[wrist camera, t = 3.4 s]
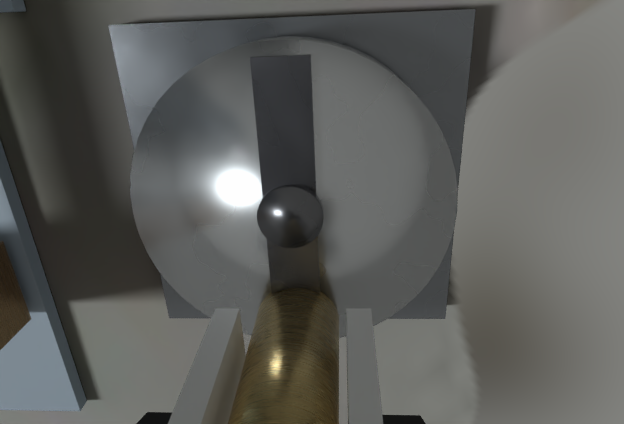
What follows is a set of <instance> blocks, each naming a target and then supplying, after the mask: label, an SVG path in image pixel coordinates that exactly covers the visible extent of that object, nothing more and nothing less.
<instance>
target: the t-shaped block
mask: <svg viewBox="0 0 624 424" xmlns="http://www.w3.org/2000/svg"><path fill="white" fill-rule="evenodd" d="M25 11H26V8H25V5H24V1H23V0H0V13H4V12H25ZM0 241H3V242H4V245H5V247H6V250H7V253H8V256H9V258H10V261H11V264H12V267H13V269H14V272H15V275H16V278H17V280H18V283H19V286H20V289H21V292H22V294H23V297H24V300H25V303H26V305H27V308H28V311H29V314H30V316H31V320H30V321H29V322H28V323H27V324H26V325H25V326H24V327H23V328H22V329H21V330H20V331H19V332H18V333H17V334H16V335H15V336H14V337H13V338H12V339H11V340H10V341H9V342H8V343H7V344H6V345H5V346H4V347H3V348H2V349H1V350H0V410H42V411H81V409H82V408H83V406H84V405H85V403H86V401H87V400H86V397H85V394H84V391H83V388H82V385H81V382H80V379H79V376H78V373H77V370H76V367H75V364H74V361H73V358H72V355H71V352H70V349H69V346H68V343H67V340H66V337H65V334H64V331H63V328H62V325H61V321H60V318H59V315H58V312H57V309H56V306H55V303H54V300H53V297H52V294H51V291H50V288H49V285H48V282H47V279H46V276H45V273H44V270H43V267H42V264H41V261H40V258H39V255H38V252H37V249H36V246H35V243H34V240H33V237H32V234H31V231H30V228H29V225H28V222H27V219H26V216H25V213H24V210H23V207H22V204H21V201H20V198H19V194H18V191H17V188H16V185H15V182H14V179H13V176H12V173H11V170H10V167H9V164H8V161H7V158H6V155H5V152H4V149H3V146H2V143H1V140H0Z"/></svg>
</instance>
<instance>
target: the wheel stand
mask: <svg viewBox="0 0 624 424" xmlns="http://www.w3.org/2000/svg"><path fill="white" fill-rule="evenodd" d="M475 10H476V9H458V10H435V11H412V12H389V13H366V14H343V15H321V16H298V17H275V18H252V19H229V20H206V21H184V22H161V23H138V24H117V25H108V26H109V31H110V36H111V40H112V45H113V50H114V55H115V60H116V64H117V69H118V74H119V79H120V84H121V88H122V93H123V98H124V103H125V108H126V112H127V117H128V122H129V127H130V132H131V136H132V141H133V146H134V150H135V147H136V143H137V140H138V137H139V134H140V132H141V130H142V128H143V126H144V123H145V121H146V119H147V117H148V116H149V114H150V113H151V111H152V109H153V108H154V106H155V105H156V103H157V102H158V100H159V99H160V98H161V97H162V96H163V95H164V93H165V92H166V91H167V90H168V89H169V88H170V87H171V86H172V84H173V83H175V82H176V81H177V80H178V79H179V78H181V77H182V76H183V75H184V74H185V73H187V72H188V71H189V70H190V69H192V68H194V67H195V66H197V65H199V64H200V63H202V62H203V61H205V60H207V59H208V58H210V57H212V56H215V55H217V54H220V53H222V52H224V51H227V50H229V49H231V48H234V47H237V46H239V45H242V44H245V43H249V42H253V41H257V40H261V39H265V38H274V37H282V36H302V37H313V38H319V39H325V40H331V41H334V42H337V43H340V44H343V45H346V46H349V47H352V48H354V49H356V50H359V51H361V52H363V53H365V54H367V55H369V56H371V57H373V58H374V59H376V60H377V61H379V62H380V63H382V64H383V65H385V66H386V67H388V68H389V69H390V70H392V71H393V72H394V73H395V74H396V75H397V76H398V77H399V78H401V79H402V80H403V81H404V82H405V83H406V84H407V85H408V86H409V87H410V89H411V90H412V91H413V92H414V93H415V94H416V95H417V97H418V98H419V99H420V100H421V101H422V103H423V104H424V105H425V106H426V107H427V109H428V110H429V111H430V113H431V114H432V116H433V118H434V119H435V121H436V122H437V124H438V126H439V127H440V129H441V131H442V133H443V136H444V138H445V140H446V142H447V145H448V147H449V149H450V153H451V157H452V160H453V164H454V168H455V173H456V181H457V190H458V183H459V173H460V163H461V153H462V142H463V132H464V122H465V112H466V102H467V92H468V82H469V71H470V61H471V51H472V41H473V31H474V20H475ZM453 234H454V231H453ZM453 234H452V237H451V240H450V243H449V247H448V249H447V251H446V253H445V256H444V258H443V260H442V262H441V264H440V266H439V267H438V269H437V270H436V272H435V273H434V275H433V276H432V278H431V279H430V281H429V282H428V283H427V285H426V286H425V287H424V288H423V289H422V290H421V291H420V293H419V294H418V295H417V296H416V297H415V298H414V299H412V300H411V301H410V302H409V303H408V304H407V305H406V306H405V307H403V308H402V309H401V310H399V311H398V312H396V313H395V314H394V315H392V316H391V317H389V318H388V319H445V316H446V306H447V296H448V285H449V275H450V265H451V255H452V245H453ZM160 275H161V273H160ZM161 280H162V285H163V290H164V295H165V299H166V304H167V309H168V314H169V318H210V317H208V316H207V315H205V314H204V313H202V312H201V311H199V310H198V309H196V308H195V307H194V306H192V305H191V304H190V303H189V302H187V301H186V300H185V299H184V298H183V297H181V296H180V295H179V294H178V293H177V292H176V291H175V290H174V289H173V288H172V286H171V285H170V284H169V283H168V282H167V281H166V280H165V278H164V277H163V276H162V275H161Z"/></svg>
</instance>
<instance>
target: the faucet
mask: <svg viewBox="0 0 624 424" xmlns="http://www.w3.org/2000/svg"><path fill="white" fill-rule="evenodd" d="M457 196H458V190H457V181H456V173H455V168H454V164H453V160H452V157H451V153H450V149H449V147H448V145H447V142H446V140H445V138H444V136H443V133H442V131H441V129H440V127H439V126H438V124H437V122H436V121H435V119H434V118H433V116H432V114H431V113H430V111H429V110H428V109H427V107H426V106H425V105H424V104H423V103H422V101H421V100H420V99H419V98H418V97H417V95H416V94H415V93H414V92H413V91H412V90H411V89H410V87H409V86H408V85H407V84H406V83H405V82H404V81H403V80H402V79H401V78H399V77H398V76H397V75H396V74H395V73H394V72H393V71H392V70H390V69H389V68H388V67H386V66H385V65H383V64H382V63H380V62H379V61H377V60H376V59H374V58H373V57H371V56H369V55H367V54H365V53H363V52H361V51H359V50H356V49H354V48H352V47H349V46H346V45H343V44H340V43H337V42H334V41H331V40H325V39H319V38H313V37H302V36H282V37H274V38H265V39H261V40H257V41H253V42H249V43H245V44H242V45H239V46H237V47H234V48H231V49H229V50H227V51H224V52H222V53H220V54H217V55H215V56H212V57H210V58H208V59H207V60H205V61H203V62H202V63H200V64H199V65H197V66H195V67H194V68H192V69H190V70H189V71H188V72H187V73H185V74H184V75H183V76H182V77H181V78H179V79H178V80H177V81H176V82H175V83H173V84H172V86H171V87H170V88H169V89H168V90H167V91H166V92H165V93H164V95H163V96H162V97H161V98H160V99H159V100H158V102H157V103H156V105H155V106H154V108H153V109H152V111H151V113H150V114H149V116H148V117H147V119H146V121H145V123H144V126H143V128H142V130H141V132H140V134H139V137H138V140H137V143H136V147H135V150H134V154H133V159H132V166H131V174H130V197H131V203H132V210H133V216H134V219H135V223H136V226H137V230H138V233H139V236H140V238H141V240H142V242H143V245H144V247H145V249H146V251H147V253H148V255H149V256H150V258H151V260H152V261H153V263H154V265H155V267H156V268H157V269H158V271H159V272H160V273H161V275H162V276H163V277H164V278H165V280H166V281H167V282H168V283H169V284H170V285H171V286H172V288H173V289H174V290H175V291H176V292H177V293H178V294H179V295H180V296H181V297H183V298H184V299H185V300H186V301H187V302H189V303H190V304H191V305H192V306H194V307H195V308H196V309H198V310H199V311H201V312H202V313H204V314H205V315H207V316H208V317H210V318H212V316H213V313H214V311H215V309H216V308H239V309H240V317H241V325H242V332H243V333H245V334H249V335H252V336H251V339H250V343H249V347H248V351H247V354H246V358H245V362H244V365H243V369H242V373H241V376H240V380H239V384H238V388H237V391H236V395H235V399H234V402H233V406H232V410H231V414H230V417H229V421H228V424H339V338H341V337H344V336H347V317H346V308H371V311H372V321H373V326H375V325H376V324H378V323H380V322H382V321H384V320H386V319H388V318H389V317H391V316H392V315H394V314H395V313H396V312H398V311H399V310H401V309H402V308H403V307H405V306H406V305H407V304H408V303H409V302H410V301H411V300H412V299H414V298H415V297H416V296H417V295H418V294H419V293H420V291H421V290H422V289H423V288H424V287H425V286H426V285H427V283H428V282H429V281H430V279H431V278H432V276H433V275H434V273H435V272H436V270H437V269H438V267H439V266H440V264H441V262H442V260H443V258H444V256H445V253H446V251H447V249H448V247H449V243H450V240H451V237H452V234H453V231H454V226H455V220H456V214H457Z"/></svg>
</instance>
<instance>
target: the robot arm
mask: <svg viewBox="0 0 624 424" xmlns="http://www.w3.org/2000/svg"><path fill="white" fill-rule="evenodd" d="M346 317H347V392H348V424H425V422H424V421H423V419H422V418H421V416H415V415H382V407H381V397H380V388H379V378H378V369H377V359H376V349H375V340H374V330H373V321H372V311H371V308H346ZM245 358H246V355H245V348H244V340H243V332H242V325H241V317H240V309H239V308H216V309H215V311H214V313H213V316H212V318H211V321H210V323H209V325H208V328H207V330H206V333H205V335H204V338H203V340H202V342H201V345H200V347H199V350H198V352H197V354H196V357H195V359H194V362H193V364H192V367H191V369H190V371H189V374H188V376H187V379H186V381H185V383H184V386H183V388H182V391H181V393H180V395H179V398H178V400H177V403H176V405H175V408H174V410H173V412H172V413H161V412H147V413H146V414H145V415H144V416H143V417H142V418H141V420H140V421H139V422H138V423H137V424H228V421H229V417H230V414H231V410H232V406H233V402H234V399H235V395H236V391H237V388H238V384H239V380H240V376H241V373H242V369H243V365H244V362H245Z"/></svg>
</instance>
